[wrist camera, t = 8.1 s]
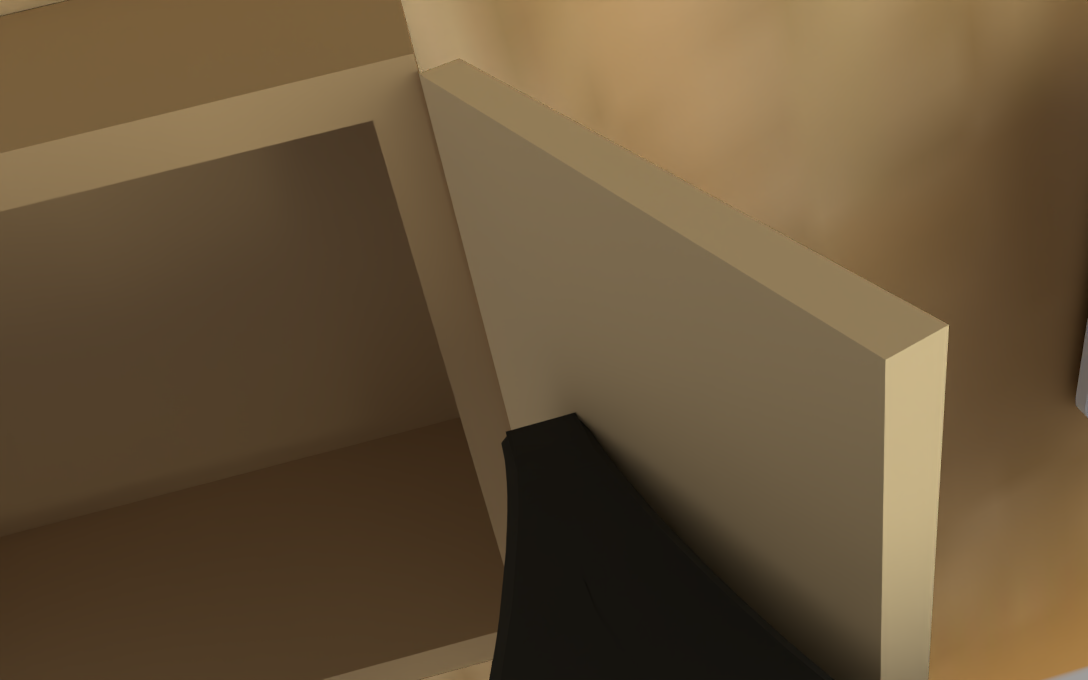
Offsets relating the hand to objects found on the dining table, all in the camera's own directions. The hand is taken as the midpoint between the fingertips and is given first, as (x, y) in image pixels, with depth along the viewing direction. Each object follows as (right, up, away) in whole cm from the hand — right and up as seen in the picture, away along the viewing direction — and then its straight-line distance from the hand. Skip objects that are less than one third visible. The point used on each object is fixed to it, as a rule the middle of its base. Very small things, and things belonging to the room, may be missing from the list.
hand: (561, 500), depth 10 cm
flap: (+1, 0, -1) cm, 1 cm away
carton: (-7, +2, +5) cm, 9 cm away
